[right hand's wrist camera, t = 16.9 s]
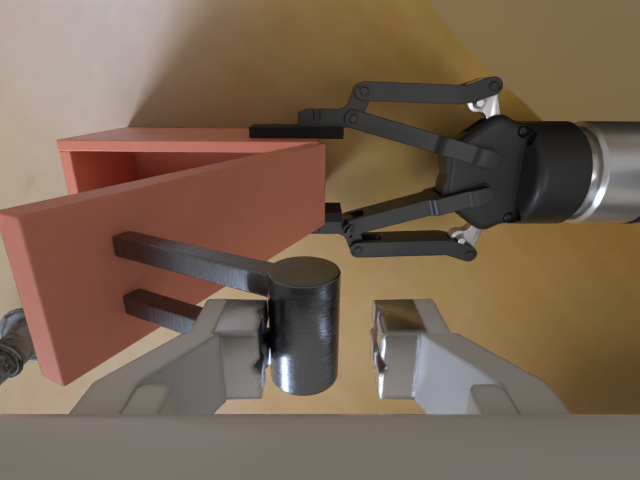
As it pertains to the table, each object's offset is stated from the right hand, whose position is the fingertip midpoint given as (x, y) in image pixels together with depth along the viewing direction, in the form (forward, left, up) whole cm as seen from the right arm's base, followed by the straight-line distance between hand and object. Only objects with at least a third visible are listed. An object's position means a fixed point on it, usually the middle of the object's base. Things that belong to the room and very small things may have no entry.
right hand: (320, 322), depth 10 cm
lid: (-4, +2, -9) cm, 10 cm away
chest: (-8, +3, -27) cm, 29 cm away
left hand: (-5, +1, -21) cm, 21 cm away
